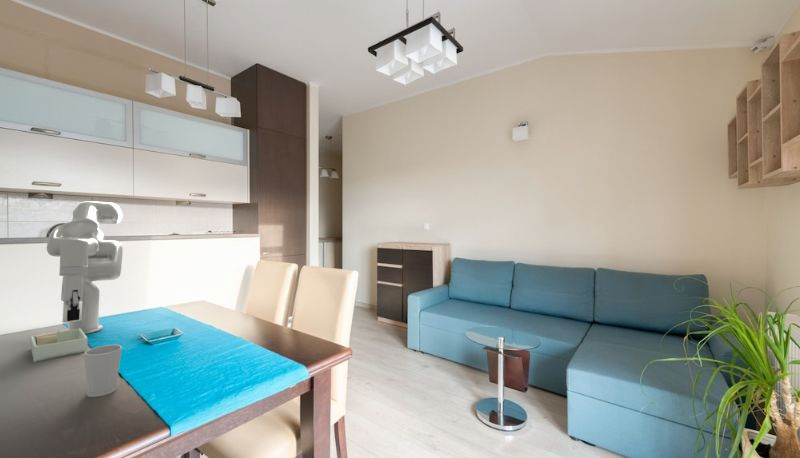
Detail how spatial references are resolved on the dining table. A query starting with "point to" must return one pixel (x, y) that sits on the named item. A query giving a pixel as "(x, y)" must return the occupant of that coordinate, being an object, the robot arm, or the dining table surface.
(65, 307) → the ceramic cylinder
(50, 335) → the beech cube
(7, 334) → the dining table surface
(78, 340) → the tote
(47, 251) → the robot arm
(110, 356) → the cup
